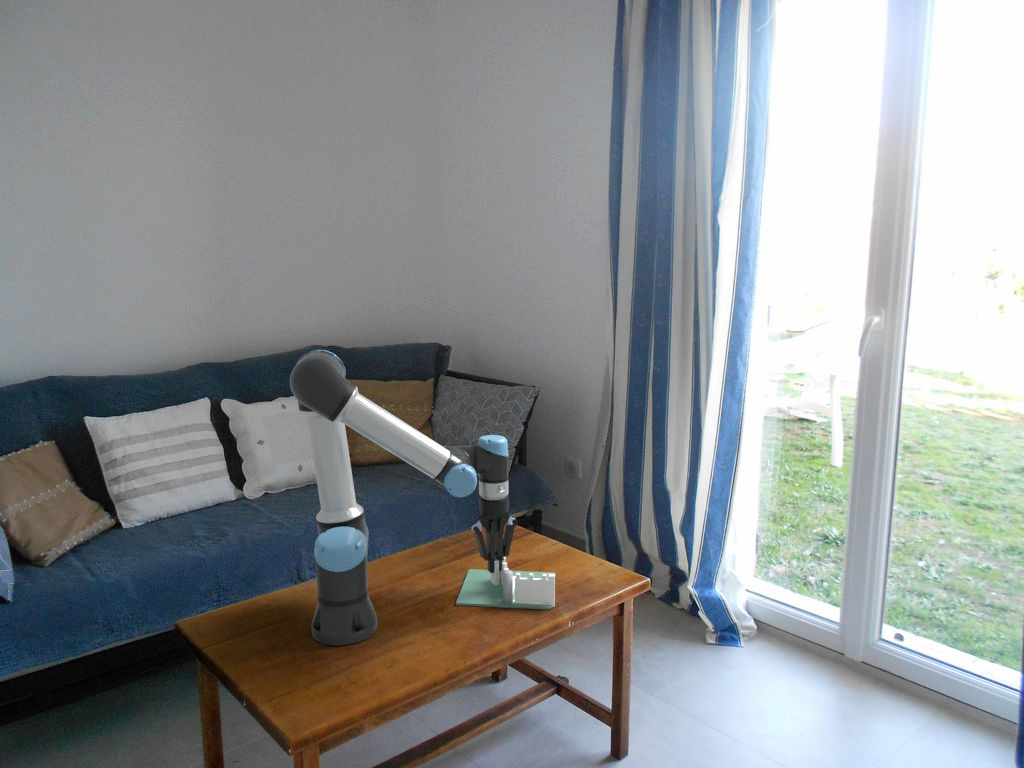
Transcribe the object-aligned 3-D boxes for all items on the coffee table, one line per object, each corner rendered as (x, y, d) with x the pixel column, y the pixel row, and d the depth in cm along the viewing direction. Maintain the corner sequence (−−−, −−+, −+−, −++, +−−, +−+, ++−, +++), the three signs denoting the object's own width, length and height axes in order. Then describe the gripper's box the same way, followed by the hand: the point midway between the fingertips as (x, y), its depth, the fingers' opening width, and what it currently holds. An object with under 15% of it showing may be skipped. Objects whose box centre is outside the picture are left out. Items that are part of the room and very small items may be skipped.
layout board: (455, 605, 188) (455, 602, 188) (469, 571, 208) (469, 568, 207) (551, 609, 185) (551, 606, 185) (555, 574, 205) (555, 572, 205)
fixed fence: (502, 605, 188) (502, 574, 186) (503, 601, 190) (503, 569, 188) (554, 608, 186) (554, 576, 185) (554, 603, 188) (554, 572, 187)
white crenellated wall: (499, 576, 202) (498, 547, 200) (505, 576, 202) (504, 546, 200) (504, 597, 190) (503, 565, 188) (510, 596, 190) (510, 565, 189)
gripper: (477, 503, 185) (479, 593, 189) (522, 496, 191) (523, 583, 195) (465, 495, 192) (467, 582, 195) (508, 488, 197) (509, 573, 201)
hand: (495, 583), depth 195 cm, fingers closed
